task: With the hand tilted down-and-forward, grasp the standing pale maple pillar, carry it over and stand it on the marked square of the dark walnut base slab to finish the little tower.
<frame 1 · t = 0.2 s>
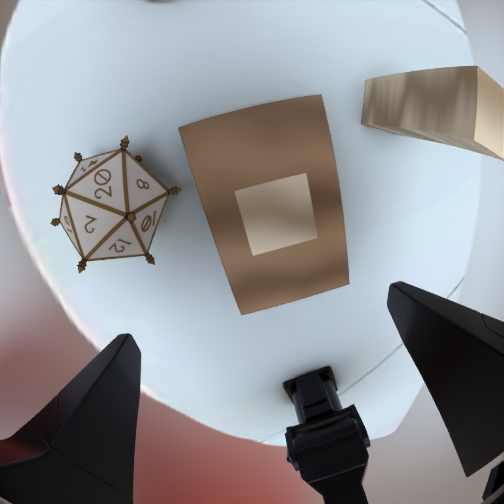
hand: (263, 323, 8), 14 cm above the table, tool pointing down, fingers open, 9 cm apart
walnut slab: (273, 207, 21), on the table
game die: (129, 190, 20), on the table
maple pillar: (383, 107, 18), on the table
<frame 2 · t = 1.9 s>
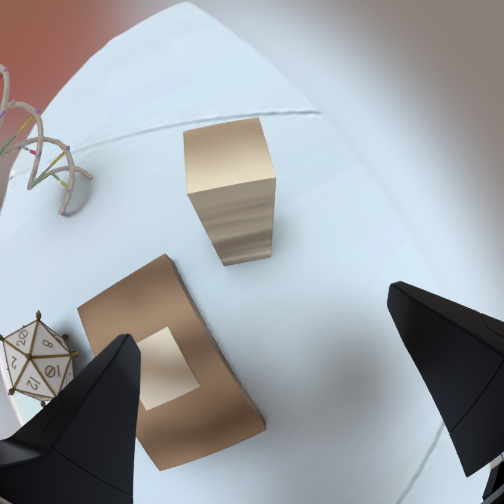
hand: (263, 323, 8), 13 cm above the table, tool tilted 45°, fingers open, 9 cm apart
walnut slab: (165, 368, 20), on the table
dna model: (77, 195, 27), on the table
game die: (65, 362, 21), on the table
maple pillar: (243, 239, 24), on the table
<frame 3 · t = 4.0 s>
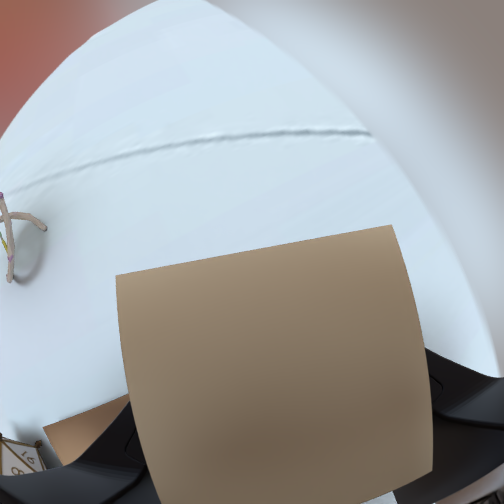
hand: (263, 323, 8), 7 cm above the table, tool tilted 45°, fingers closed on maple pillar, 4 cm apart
walnut slab: (165, 503, 11), on the table
dna model: (30, 253, 17), on the table
game die: (45, 466, 11), on the table
maple pillar: (268, 355, 14), on the table, touching gripper
when the fingers open (10 cm above the table, at t = 6.9 s): maple pillar drops 1 cm, resting on walnut slab.
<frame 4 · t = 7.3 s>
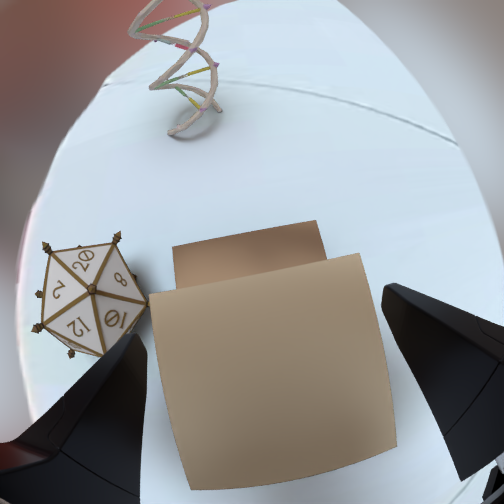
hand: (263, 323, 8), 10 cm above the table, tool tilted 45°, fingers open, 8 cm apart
walnut slab: (266, 352, 17), on the table
dna model: (196, 123, 25), on the table
game die: (119, 309, 19), on the table
maple pillar: (266, 354, 15), point 2 cm above the table, touching walnut slab
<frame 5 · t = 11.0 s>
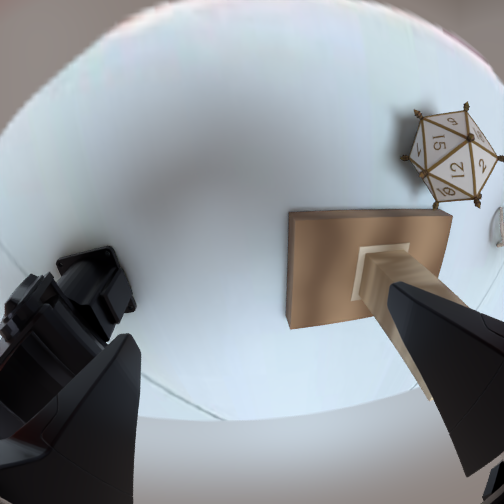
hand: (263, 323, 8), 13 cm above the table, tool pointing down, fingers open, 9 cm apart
walnut slab: (370, 261, 23), on the table
dna model: (497, 227, 24), on the table
game die: (422, 149, 19), on the table
maple pillar: (381, 272, 22), point 2 cm above the table, touching walnut slab
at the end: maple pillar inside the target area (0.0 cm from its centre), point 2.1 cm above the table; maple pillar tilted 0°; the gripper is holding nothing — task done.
